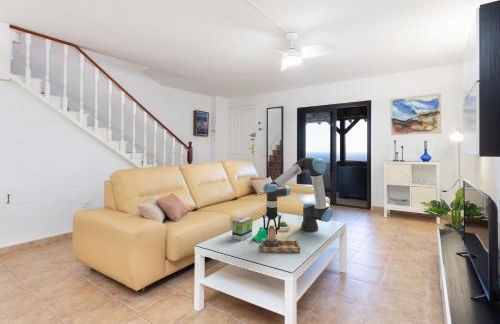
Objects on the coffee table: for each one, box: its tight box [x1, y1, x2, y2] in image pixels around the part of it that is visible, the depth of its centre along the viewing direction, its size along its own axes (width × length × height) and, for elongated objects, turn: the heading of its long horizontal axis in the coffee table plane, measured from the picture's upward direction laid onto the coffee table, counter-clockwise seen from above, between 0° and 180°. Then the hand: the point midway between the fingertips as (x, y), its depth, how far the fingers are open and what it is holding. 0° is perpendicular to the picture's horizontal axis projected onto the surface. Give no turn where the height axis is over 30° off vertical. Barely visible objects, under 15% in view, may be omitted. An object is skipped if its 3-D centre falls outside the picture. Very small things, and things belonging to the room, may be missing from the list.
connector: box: [268, 225, 275, 242], centre depth 184 cm, size 4×4×14 cm
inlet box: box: [260, 238, 301, 254], centre depth 184 cm, size 26×14×6 cm, turn 89°
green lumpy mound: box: [251, 225, 268, 243], centre depth 200 cm, size 12×8×10 cm, turn 56°
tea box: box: [231, 216, 253, 242], centre depth 207 cm, size 15×10×15 cm
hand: (271, 238), depth 184 cm, fingers closed on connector, 4 cm apart
